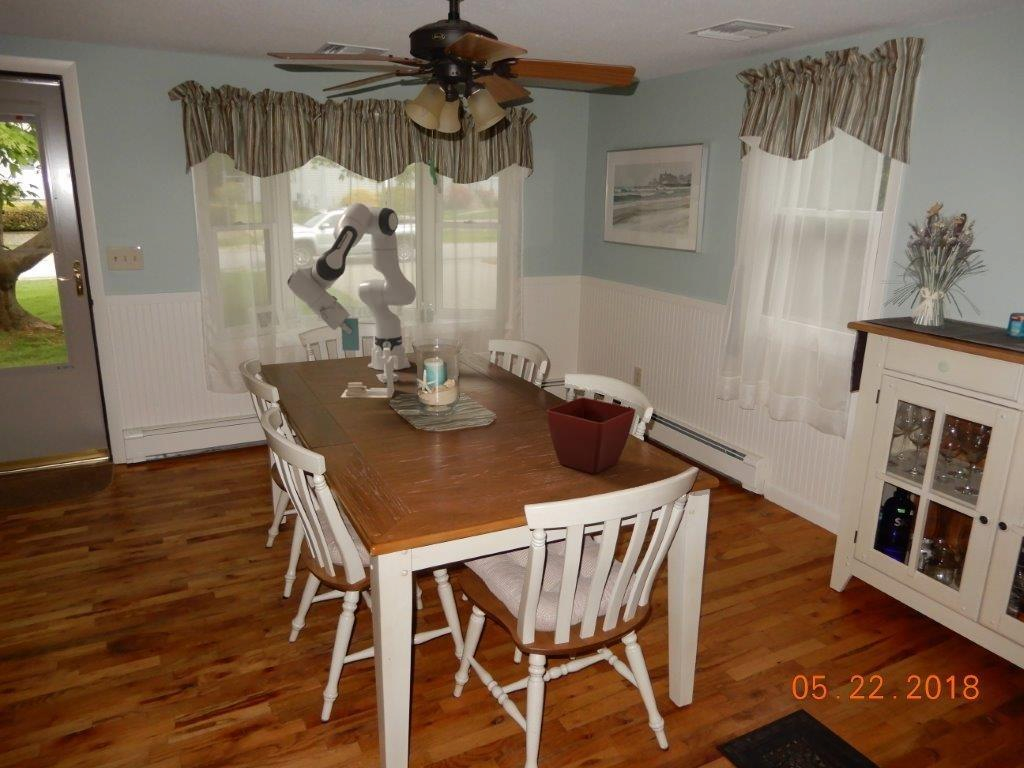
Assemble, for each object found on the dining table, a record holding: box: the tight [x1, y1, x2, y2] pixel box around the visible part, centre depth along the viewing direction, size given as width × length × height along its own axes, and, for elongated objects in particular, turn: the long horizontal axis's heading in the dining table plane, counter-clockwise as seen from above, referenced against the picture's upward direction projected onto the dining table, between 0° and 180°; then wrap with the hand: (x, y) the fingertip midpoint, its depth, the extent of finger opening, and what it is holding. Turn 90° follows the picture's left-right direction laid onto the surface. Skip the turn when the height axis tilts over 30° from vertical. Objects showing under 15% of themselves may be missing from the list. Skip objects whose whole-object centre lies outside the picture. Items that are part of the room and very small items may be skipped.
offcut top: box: [347, 381, 363, 392], centre depth 272 cm, size 6×5×2 cm
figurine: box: [375, 348, 400, 384], centre depth 291 cm, size 7×9×15 cm
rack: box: [340, 356, 395, 399], centre depth 272 cm, size 11×19×15 cm, turn 92°
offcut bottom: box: [345, 385, 368, 396], centre depth 273 cm, size 8×6×2 cm
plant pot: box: [546, 397, 636, 475], centre depth 209 cm, size 19×19×17 cm
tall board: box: [341, 317, 360, 351], centre depth 268 cm, size 2×6×12 cm, turn 92°
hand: (351, 331), depth 268 cm, fingers closed on tall board, 2 cm apart
